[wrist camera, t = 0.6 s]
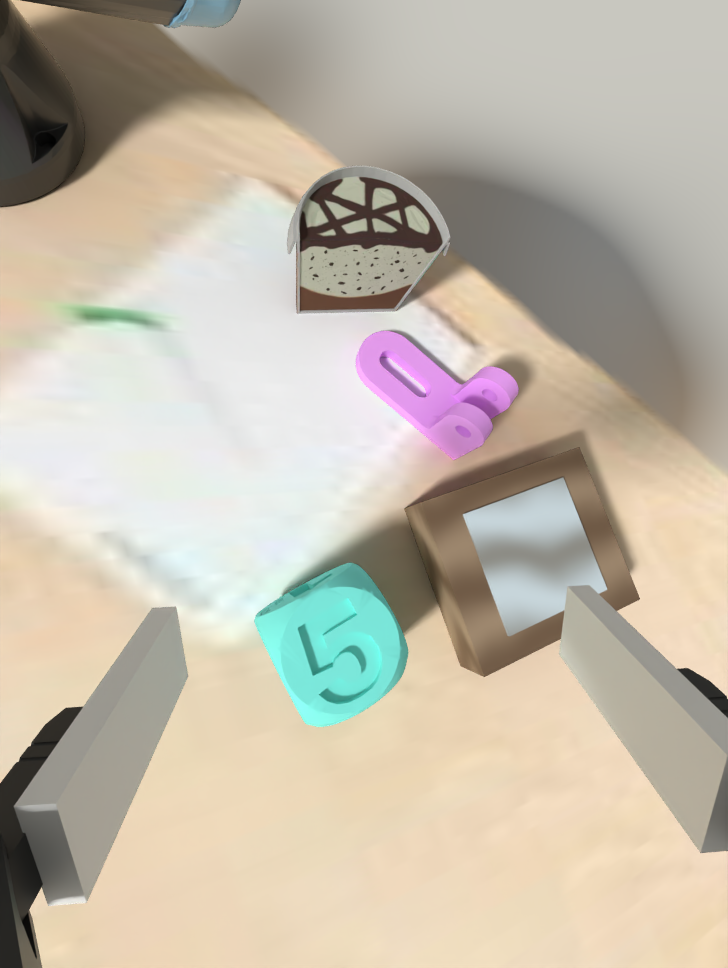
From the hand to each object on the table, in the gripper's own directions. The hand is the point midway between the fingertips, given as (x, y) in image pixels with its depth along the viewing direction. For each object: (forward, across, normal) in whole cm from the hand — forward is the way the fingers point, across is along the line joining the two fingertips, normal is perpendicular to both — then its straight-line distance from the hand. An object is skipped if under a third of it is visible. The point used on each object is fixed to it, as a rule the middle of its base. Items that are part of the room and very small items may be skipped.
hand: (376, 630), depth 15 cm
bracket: (+29, +6, +5) cm, 30 cm away
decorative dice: (+18, -3, -12) cm, 22 cm away
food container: (+32, 0, +15) cm, 36 cm away
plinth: (+23, +14, -9) cm, 29 cm away
